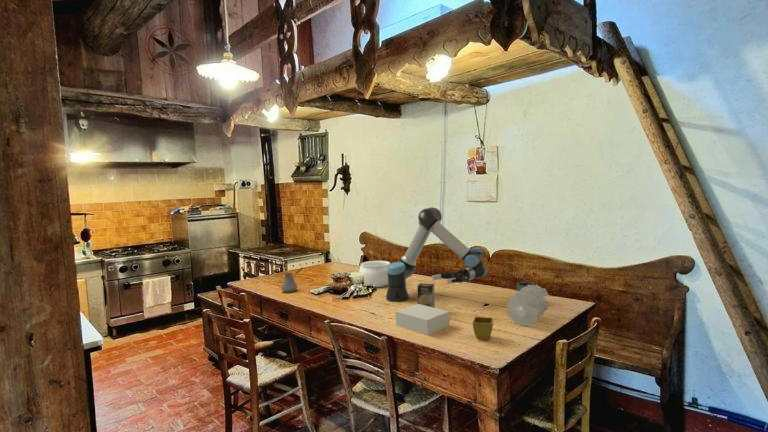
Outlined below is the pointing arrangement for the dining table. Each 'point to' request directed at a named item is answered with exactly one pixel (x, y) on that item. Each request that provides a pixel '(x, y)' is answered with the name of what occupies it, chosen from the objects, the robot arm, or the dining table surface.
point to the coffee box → (426, 294)
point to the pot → (375, 272)
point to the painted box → (422, 319)
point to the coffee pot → (289, 282)
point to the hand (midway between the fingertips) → (439, 279)
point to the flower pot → (482, 327)
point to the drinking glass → (523, 285)
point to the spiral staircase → (527, 305)
